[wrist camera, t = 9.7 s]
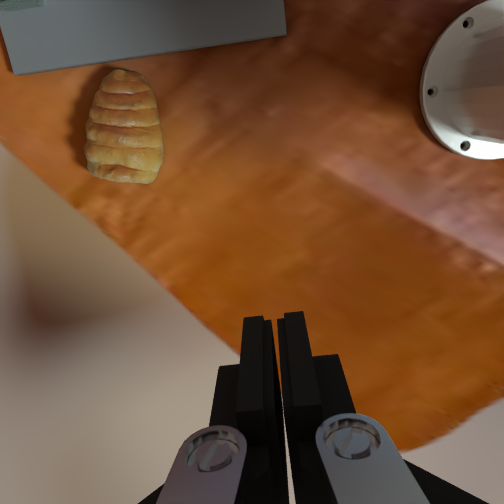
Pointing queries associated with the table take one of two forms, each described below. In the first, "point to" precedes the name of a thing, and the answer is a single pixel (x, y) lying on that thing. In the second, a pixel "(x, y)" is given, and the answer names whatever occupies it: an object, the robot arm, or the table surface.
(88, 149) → the pastry
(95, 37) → the slate mat
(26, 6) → the stand
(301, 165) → the table surface
